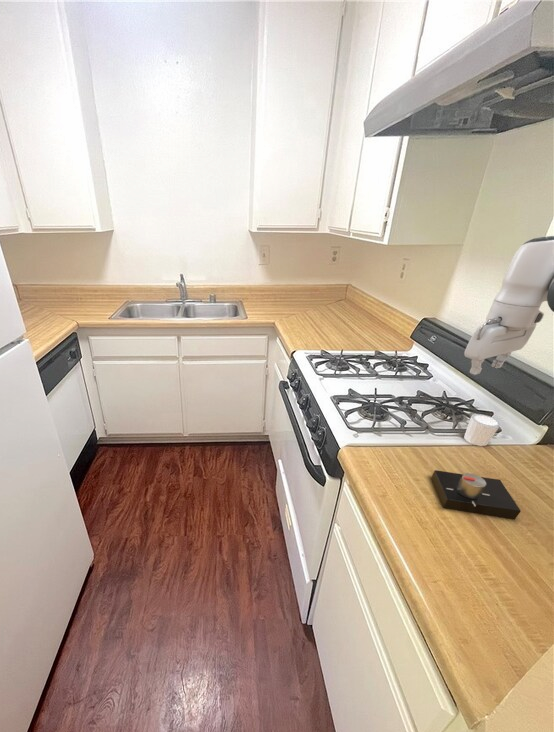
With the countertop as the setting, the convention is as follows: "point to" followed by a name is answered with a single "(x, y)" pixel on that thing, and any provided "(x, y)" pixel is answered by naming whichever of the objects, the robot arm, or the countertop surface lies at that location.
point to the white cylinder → (481, 429)
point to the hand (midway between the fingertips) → (485, 370)
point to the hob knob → (471, 486)
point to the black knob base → (489, 502)
